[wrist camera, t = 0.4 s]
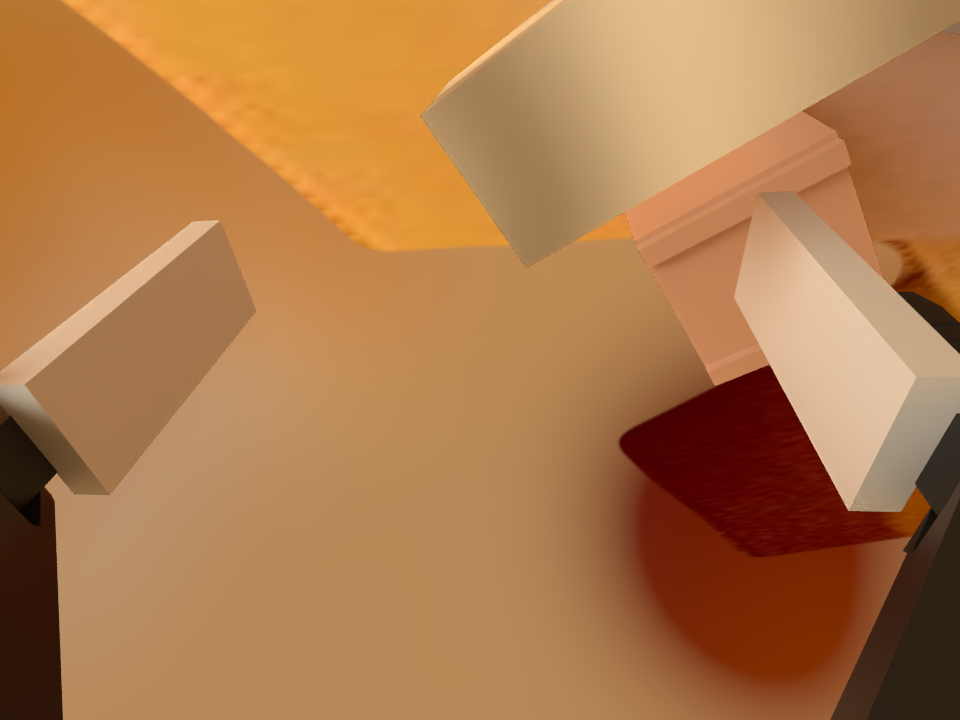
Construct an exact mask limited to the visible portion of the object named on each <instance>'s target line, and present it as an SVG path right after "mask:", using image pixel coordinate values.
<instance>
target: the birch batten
mask: <svg viewBox="0 0 960 720" xmlns="http://www.w3.org/2000/svg"><path fill="white" fill-rule="evenodd" d="M959 21H960V0H551V1H550V2H549V3H548V4H546V5H545V6H544V7H543V8H541V9H540V10H539V11H538V12H536V13H535V14H534V15H532V16H531V17H530V18H529V19H527V20H526V21H525V22H524V23H522V24H521V25H520V26H519V27H517V28H516V29H515V30H514V31H512V32H511V33H510V34H508V35H507V36H506V37H505V38H503V39H502V40H501V41H500V42H498V43H497V44H496V45H495V46H493V47H492V48H491V49H490V50H488V51H487V52H486V53H485V54H483V55H482V56H481V57H479V58H478V59H477V60H476V61H474V62H473V63H472V64H471V65H469V66H468V67H467V68H466V69H464V70H463V71H462V72H461V73H459V74H458V75H457V76H455V77H454V78H453V79H452V80H450V81H449V83H448V84H447V85H446V86H445V87H444V88H443V90H442V91H441V92H440V93H439V94H438V96H437V97H436V98H435V99H434V100H433V102H432V103H431V104H430V105H429V106H428V108H427V109H426V110H425V111H424V112H423V114H422V115H421V118H422V119H423V121H424V122H425V124H426V125H427V126H428V128H429V129H430V131H431V132H432V134H433V135H434V136H435V138H436V139H437V141H438V142H439V144H440V145H441V146H442V148H443V149H444V151H445V152H446V154H447V155H448V156H449V158H450V159H451V161H452V162H453V164H454V165H455V166H456V168H457V169H458V171H459V172H460V174H461V175H462V177H463V178H464V179H465V181H466V182H467V184H468V185H469V187H470V188H471V189H472V191H473V192H474V194H475V195H476V197H477V198H478V199H479V201H480V202H481V204H482V205H483V207H484V208H485V209H486V211H487V212H488V214H489V215H490V217H491V218H492V219H493V221H494V222H495V224H496V225H497V227H498V228H499V230H500V231H501V232H502V234H503V235H504V237H505V238H506V240H507V241H508V242H509V244H510V245H511V247H512V248H513V250H514V251H515V252H516V254H517V255H518V257H519V258H520V260H521V261H522V262H523V264H524V265H525V267H526V268H527V267H529V266H531V265H533V264H534V263H536V262H538V261H540V260H541V259H543V258H545V257H547V256H549V255H550V254H552V253H554V252H556V251H557V250H559V249H561V248H562V247H564V246H566V245H568V244H570V243H571V242H573V241H575V240H577V239H578V238H580V237H582V236H584V235H585V234H587V233H589V232H591V231H592V230H594V229H596V228H598V227H599V226H601V225H603V224H605V223H606V222H608V221H610V220H612V219H613V218H615V217H617V216H619V215H620V214H622V213H624V212H626V211H627V210H629V209H631V208H633V207H634V206H636V205H638V204H640V203H642V202H643V201H645V200H647V199H649V198H650V197H652V196H654V195H656V194H657V193H659V192H661V191H663V190H664V189H666V188H668V187H670V186H671V185H673V184H675V183H677V182H678V181H680V180H682V179H684V178H685V177H687V176H689V175H691V174H692V173H694V172H696V171H698V170H699V169H701V168H703V167H705V166H706V165H708V164H710V163H712V162H713V161H715V160H717V159H719V158H720V157H722V156H724V155H726V154H727V153H729V152H731V151H733V150H734V149H736V148H738V147H740V146H741V145H743V144H745V143H747V142H748V141H750V140H752V139H754V138H755V137H757V136H759V135H761V134H763V133H764V132H766V131H768V130H770V129H771V128H773V127H775V126H777V125H778V124H780V123H782V122H784V121H785V120H787V119H789V118H791V117H792V116H794V115H796V114H798V113H799V112H801V111H803V110H805V109H806V108H808V107H810V106H812V105H813V104H815V103H817V102H819V101H820V100H822V99H824V98H826V97H827V96H829V95H831V94H833V93H834V92H836V91H838V90H840V89H841V88H843V87H845V86H847V85H848V84H850V83H852V82H854V81H855V80H857V79H859V78H861V77H862V76H864V75H866V74H868V73H869V72H871V71H873V70H875V69H876V68H878V67H880V66H882V65H883V64H885V63H887V62H889V61H891V60H892V59H894V58H896V57H898V56H899V55H901V54H903V53H905V52H906V51H908V50H910V49H912V48H913V47H915V46H917V45H919V44H920V43H922V42H924V41H926V40H927V39H929V38H931V37H933V36H934V35H936V34H938V33H940V32H941V31H943V30H945V29H947V28H948V27H950V26H952V25H954V24H955V23H957V22H959Z"/></svg>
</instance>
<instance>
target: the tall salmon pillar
mask: <svg viewBox="0 0 960 720" xmlns="http://www.w3.org/2000/svg"><path fill="white" fill-rule="evenodd" d="M850 165H852V163H851V160H850V156H849V153H848V150H847V147H846V144H845V141H844V140H842V139H840V138H839V137H838V134H837V131H835V130H833V129H832V128H830V127H828V126H827V125H825V124H823V123H822V122H820V121H818V120H816V119H815V118H813V117H811V116H810V115H808V114H806V113H805V112H803V111H801V112H799V113H798V114H796V115H794V116H792V117H791V118H789V119H787V120H785V121H784V122H782V123H780V124H778V125H777V126H775V127H773V128H771V129H770V130H768V131H766V132H764V133H763V134H761V135H759V136H757V137H755V138H754V139H752V140H750V141H748V142H747V143H745V144H743V145H741V146H740V147H738V148H736V149H734V150H733V151H731V152H729V153H727V154H726V155H724V156H722V157H720V158H719V159H717V160H715V161H713V162H712V163H710V164H708V165H706V166H705V167H703V168H701V169H699V170H698V171H696V172H694V173H692V174H691V175H689V176H687V177H685V178H684V179H682V180H680V181H678V182H677V183H675V184H673V185H671V186H670V187H668V188H666V189H664V190H663V191H661V192H659V193H657V194H656V195H654V196H652V197H650V198H649V199H647V200H645V201H643V202H642V203H640V204H638V205H636V206H634V207H633V208H631V209H629V210H627V211H626V212H625V213H626V217H627V220H628V223H629V227H630V230H631V233H632V236H633V240H634V242H635V244H636V246H637V248H638V252H639V253H640V255H641V257H642V258H643V260H644V262H645V264H646V265H647V267H648V269H650V270H651V272H652V274H653V276H654V277H655V279H656V281H657V283H658V284H659V286H660V288H661V290H662V292H663V293H664V295H665V297H666V299H667V300H668V302H669V304H670V306H671V307H672V309H673V311H674V312H675V314H676V316H677V318H678V319H679V321H680V323H681V325H682V327H683V328H684V330H685V332H686V334H687V335H688V337H689V339H690V341H691V342H692V344H693V346H694V348H695V350H696V351H697V353H698V355H699V356H700V358H701V360H702V362H703V364H704V365H705V368H706V370H707V373H708V374H709V376H710V378H711V380H712V382H713V383H714V385H715V386H716V385H719V384H721V383H724V382H726V381H729V380H732V379H734V378H737V377H739V376H742V375H744V374H747V373H749V372H752V371H754V370H757V369H759V368H762V367H764V366H767V365H769V362H768V360H767V358H766V356H765V355H764V353H763V351H762V349H761V347H760V345H759V343H758V341H757V340H756V338H755V336H754V334H753V332H752V330H751V328H750V327H749V325H748V323H747V321H746V319H745V317H744V315H743V314H742V312H741V310H740V308H739V306H738V304H737V302H736V301H735V299H734V296H735V291H736V287H737V282H738V278H739V273H740V269H741V264H742V260H743V255H744V250H745V246H746V241H747V237H748V232H749V228H750V223H751V219H752V214H753V210H754V205H755V201H756V196H757V193H760V192H779V191H794V192H795V193H796V194H797V195H798V196H799V197H800V198H801V199H802V200H803V201H804V202H805V203H806V204H807V205H808V206H809V207H810V208H811V209H812V210H813V211H814V212H815V213H816V214H818V215H819V216H820V217H821V218H822V219H823V220H824V221H825V222H826V223H827V224H828V225H829V226H830V227H831V228H832V229H833V230H834V231H835V232H836V233H837V234H838V235H839V236H840V237H841V238H842V239H843V240H844V241H845V242H846V243H847V244H848V245H849V246H850V247H851V248H852V249H853V250H854V251H855V252H856V253H857V254H858V255H859V256H860V257H861V258H862V259H863V260H864V261H865V262H866V263H867V264H868V265H869V266H870V267H871V268H872V269H873V270H875V271H876V272H877V273H878V274H879V275H880V276H881V277H882V278H883V279H884V276H883V273H882V270H881V267H880V264H879V261H878V258H877V255H876V252H875V249H874V245H873V242H872V239H871V236H870V233H869V230H868V227H867V224H866V221H865V217H864V214H863V211H862V208H861V205H860V202H859V199H858V196H857V193H856V190H855V186H854V183H853V180H852V177H851V174H850V171H849V168H848V166H850ZM884 280H885V279H884Z"/></svg>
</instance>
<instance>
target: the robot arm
mask: <svg viewBox="0 0 960 720" xmlns="http://www.w3.org/2000/svg"><path fill="white" fill-rule="evenodd" d="M734 299H735V301H736V302H737V304H738V306H739V308H740V310H741V312H742V314H743V315H744V317H745V319H746V321H747V323H748V325H749V327H750V328H751V330H752V332H753V334H754V336H755V338H756V340H757V341H758V343H759V345H760V347H761V349H762V351H763V353H764V355H765V356H766V358H767V360H768V362H769V364H770V366H771V368H772V369H773V371H774V373H775V375H776V377H777V379H778V381H779V382H780V384H781V386H782V388H783V390H784V392H785V394H786V395H787V397H788V399H789V401H790V403H791V405H792V407H793V408H794V410H795V412H796V414H797V416H798V418H799V420H800V421H801V423H802V425H803V427H804V429H805V431H806V433H807V434H808V436H809V438H810V440H811V442H812V444H813V446H814V448H815V449H816V451H817V453H818V455H819V457H820V459H821V461H822V462H823V464H824V466H825V468H826V470H827V472H828V474H829V475H830V477H831V479H832V481H833V483H834V485H835V487H836V488H837V490H838V492H839V494H840V496H841V498H842V500H843V501H844V503H845V505H846V507H847V509H848V511H884V512H901V511H902V509H903V507H904V506H905V504H906V502H907V501H908V499H909V497H910V496H911V494H912V492H913V491H914V489H915V487H916V486H917V487H918V489H919V490H920V492H921V493H922V495H923V496H924V498H925V499H926V500H927V502H928V503H929V505H930V506H931V508H930V510H929V511H928V513H927V514H926V516H925V518H924V519H923V521H922V522H921V524H920V525H919V527H918V528H917V530H916V531H915V533H914V535H913V536H912V538H911V539H910V541H909V542H908V544H907V545H906V547H905V548H904V550H903V551H904V552H906V553H907V555H906V557H905V559H904V561H903V564H902V566H901V568H900V570H899V572H898V575H897V577H896V579H895V581H894V583H893V585H892V587H891V590H890V592H889V594H888V596H887V598H886V600H885V603H884V605H883V607H882V609H881V611H880V614H879V616H878V618H877V620H876V622H875V624H874V626H873V629H872V631H871V633H870V635H869V637H868V639H867V642H866V644H865V646H864V648H863V650H862V652H861V654H860V657H859V659H858V661H857V664H856V665H855V667H854V670H853V672H852V674H851V676H850V678H849V680H848V683H847V685H846V687H845V689H844V691H843V693H842V696H841V698H840V700H839V702H838V704H837V706H836V709H835V711H834V713H833V715H832V718H831V720H960V323H959V322H958V321H957V320H956V319H955V318H953V317H952V316H951V315H950V314H949V313H948V312H947V311H946V310H945V309H944V308H942V307H941V306H939V305H937V304H936V303H934V302H932V301H930V300H928V299H926V298H924V297H922V296H920V295H918V294H916V293H914V292H896V291H895V290H894V289H893V288H892V287H891V286H890V285H889V284H888V283H887V282H886V281H885V280H884V279H883V278H882V277H881V276H880V275H879V274H878V273H877V272H876V271H875V270H873V269H872V268H871V267H870V266H869V265H868V264H867V263H866V262H865V261H864V260H863V259H862V258H861V257H860V256H859V255H858V254H857V253H856V252H855V251H854V250H853V249H852V248H851V247H850V246H849V245H848V244H847V243H846V242H845V241H844V240H843V239H842V238H841V237H840V236H839V235H838V234H837V233H836V232H835V231H834V230H833V229H832V228H831V227H830V226H829V225H828V224H827V223H826V222H825V221H824V220H823V219H822V218H821V217H820V216H819V215H818V214H816V213H815V212H814V211H813V210H812V209H811V208H810V207H809V206H808V205H807V204H806V203H805V202H804V201H803V200H802V199H801V198H800V197H799V196H798V195H797V194H796V193H795V192H794V191H779V192H760V193H757V196H756V201H755V205H754V210H753V214H752V219H751V223H750V228H749V232H748V237H747V241H746V246H745V250H744V255H743V260H742V264H741V269H740V273H739V278H738V282H737V287H736V291H735V296H734ZM255 312H256V309H255V306H254V303H253V301H252V298H251V296H250V293H249V291H248V288H247V286H246V283H245V281H244V278H243V276H242V273H241V271H240V268H239V266H238V263H237V261H236V258H235V256H234V253H233V251H232V248H231V246H230V243H229V241H228V238H227V236H226V233H225V230H224V228H223V225H222V223H221V221H220V220H216V221H215V220H214V221H196V222H192V223H191V224H189V225H188V226H187V227H186V228H185V229H183V230H182V231H181V232H179V233H178V234H177V235H175V236H174V237H173V238H171V239H170V240H169V241H168V242H166V243H165V244H164V245H163V246H161V247H160V248H159V249H157V250H156V251H155V252H153V253H152V254H151V255H150V256H148V257H147V258H146V259H144V260H143V261H142V262H141V263H139V264H138V265H137V266H135V268H133V269H132V270H130V271H129V272H128V273H126V274H125V275H124V276H123V277H121V278H120V279H119V280H117V281H116V282H115V283H114V284H113V285H111V286H110V287H108V288H107V289H106V290H105V291H103V292H102V293H101V294H99V295H98V296H97V297H96V298H94V299H93V300H92V301H90V302H89V303H88V304H87V305H85V306H84V307H83V308H81V309H80V310H79V311H78V312H76V313H75V314H74V315H72V316H71V317H70V318H69V319H67V320H66V321H65V322H64V323H62V324H61V325H60V326H58V327H57V328H56V329H54V330H53V331H52V332H51V333H49V334H48V335H47V336H45V337H44V338H43V339H42V340H40V341H39V342H38V343H36V344H35V345H34V346H33V347H31V348H30V349H29V350H27V351H26V352H25V353H24V354H22V355H21V356H20V357H18V358H17V359H16V360H14V361H13V362H12V363H11V364H9V365H8V366H7V367H6V368H4V369H3V370H2V371H0V720H63V711H62V686H61V660H60V633H59V607H58V580H57V554H56V527H55V502H54V499H53V497H52V495H51V494H50V493H49V492H48V490H47V489H46V488H45V487H44V486H45V485H46V484H47V483H48V482H49V481H50V480H51V479H52V477H54V475H55V474H56V473H57V474H58V475H59V476H60V478H61V479H62V480H63V481H64V482H65V484H66V485H67V486H68V487H69V488H70V490H71V491H72V492H73V493H74V494H90V495H110V494H111V493H112V492H113V490H114V489H115V488H116V487H117V485H118V484H119V483H120V482H121V480H122V479H123V478H124V476H125V475H126V474H127V473H128V471H129V470H130V469H131V468H132V466H133V465H134V464H135V463H136V462H137V460H138V459H139V458H140V456H141V455H142V454H143V453H144V451H145V450H146V449H147V447H148V446H149V445H150V444H151V443H152V441H153V440H154V439H155V438H156V436H157V435H158V434H159V433H160V431H161V430H162V429H163V428H164V426H165V425H166V424H167V422H168V421H169V420H170V419H171V417H172V416H173V415H174V414H175V413H176V411H177V410H178V409H179V407H180V406H181V405H182V404H183V402H184V401H185V400H186V399H187V397H188V396H189V395H190V394H191V392H192V391H193V390H194V389H195V387H196V386H197V385H198V384H199V382H200V381H201V380H202V379H203V377H204V376H205V375H206V373H207V372H208V371H209V370H210V369H211V367H212V366H213V365H214V363H215V362H216V361H217V360H218V358H219V357H220V356H221V355H222V353H223V352H224V351H225V350H226V348H227V347H228V346H229V345H230V343H231V342H232V341H233V340H234V338H235V337H236V336H237V335H238V333H239V332H240V331H241V330H242V328H243V327H244V326H245V325H246V323H247V322H248V321H249V320H250V318H251V317H252V316H253V315H254V313H255Z"/></svg>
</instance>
